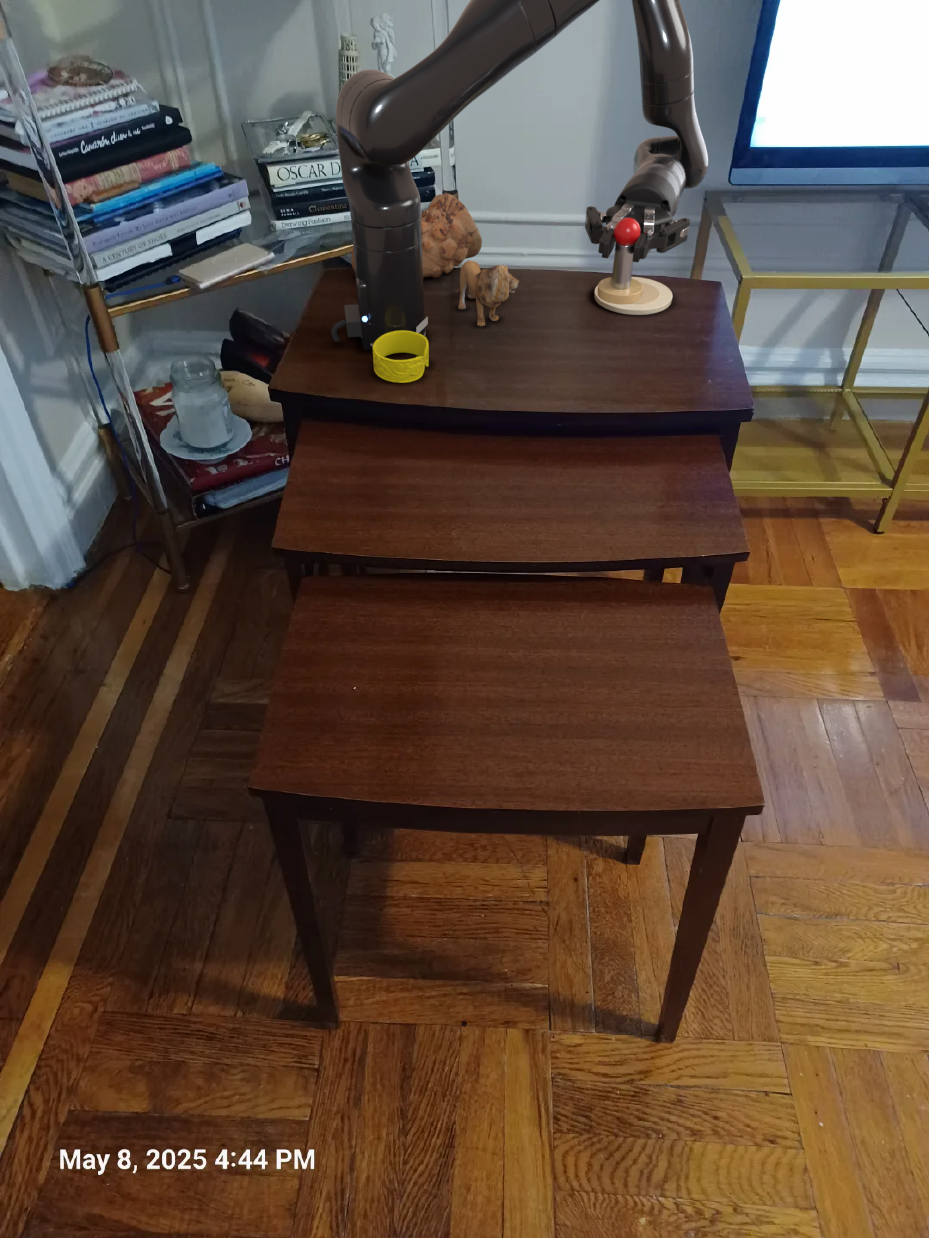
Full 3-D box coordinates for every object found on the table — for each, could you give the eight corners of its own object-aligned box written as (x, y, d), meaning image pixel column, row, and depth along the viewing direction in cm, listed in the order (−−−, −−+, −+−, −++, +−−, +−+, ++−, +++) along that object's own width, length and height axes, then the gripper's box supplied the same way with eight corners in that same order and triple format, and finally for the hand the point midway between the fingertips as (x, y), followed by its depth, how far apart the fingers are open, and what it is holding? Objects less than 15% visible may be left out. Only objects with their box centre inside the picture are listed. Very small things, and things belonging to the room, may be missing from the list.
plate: (605, 317, 132) (605, 312, 132) (585, 284, 141) (586, 278, 140) (682, 312, 134) (683, 306, 133) (658, 279, 142) (659, 273, 142)
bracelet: (365, 377, 119) (364, 355, 117) (386, 347, 125) (385, 326, 122) (416, 387, 118) (416, 365, 116) (435, 356, 123) (435, 335, 121)
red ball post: (604, 306, 110) (613, 229, 103) (591, 287, 114) (599, 211, 107) (647, 302, 110) (659, 225, 104) (633, 283, 114) (643, 208, 108)
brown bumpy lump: (463, 317, 144) (493, 238, 146) (457, 280, 134) (489, 195, 136) (357, 289, 147) (387, 211, 149) (342, 250, 136) (376, 167, 139)
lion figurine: (521, 327, 130) (524, 266, 124) (491, 336, 128) (493, 275, 122) (466, 291, 139) (466, 233, 133) (437, 299, 137) (436, 241, 131)
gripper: (599, 166, 116) (566, 212, 105) (707, 178, 113) (685, 227, 101) (593, 225, 121) (561, 275, 110) (696, 238, 118) (674, 291, 106)
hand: (621, 252), depth 106 cm, fingers closed on red ball post, 3 cm apart
